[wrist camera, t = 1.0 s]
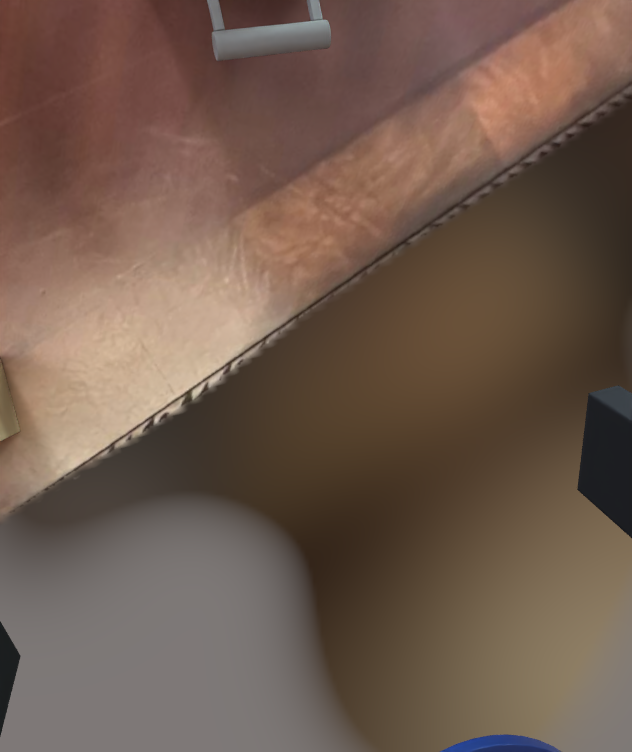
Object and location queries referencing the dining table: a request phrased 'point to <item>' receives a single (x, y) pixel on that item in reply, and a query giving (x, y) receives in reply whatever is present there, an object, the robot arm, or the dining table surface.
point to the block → (6, 409)
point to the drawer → (269, 36)
